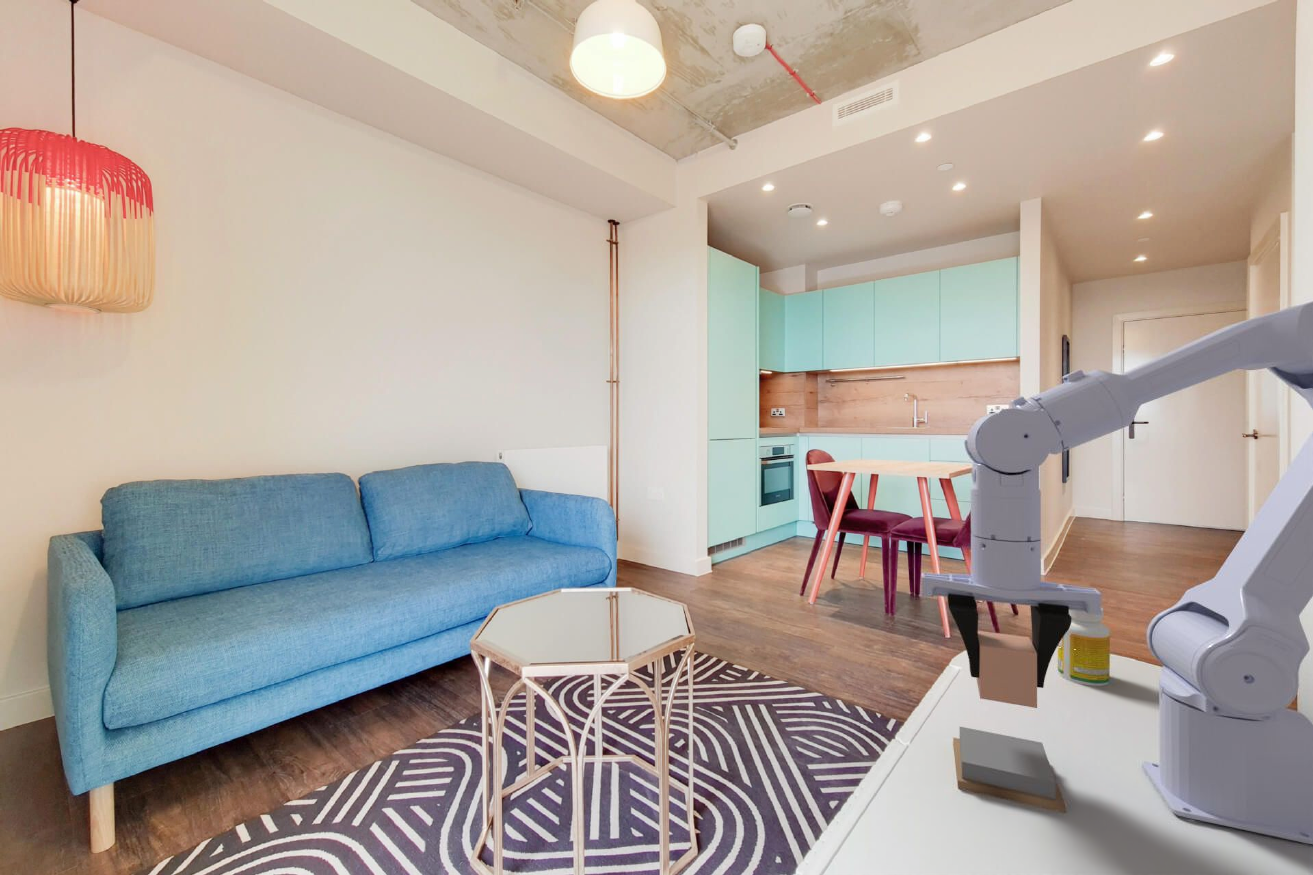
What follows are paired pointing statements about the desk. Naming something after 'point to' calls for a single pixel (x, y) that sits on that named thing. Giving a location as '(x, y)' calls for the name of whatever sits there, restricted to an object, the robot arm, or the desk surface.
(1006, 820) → the desk surface
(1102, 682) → the supplement bottle
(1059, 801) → the tower base
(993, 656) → the terracotta block
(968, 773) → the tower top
